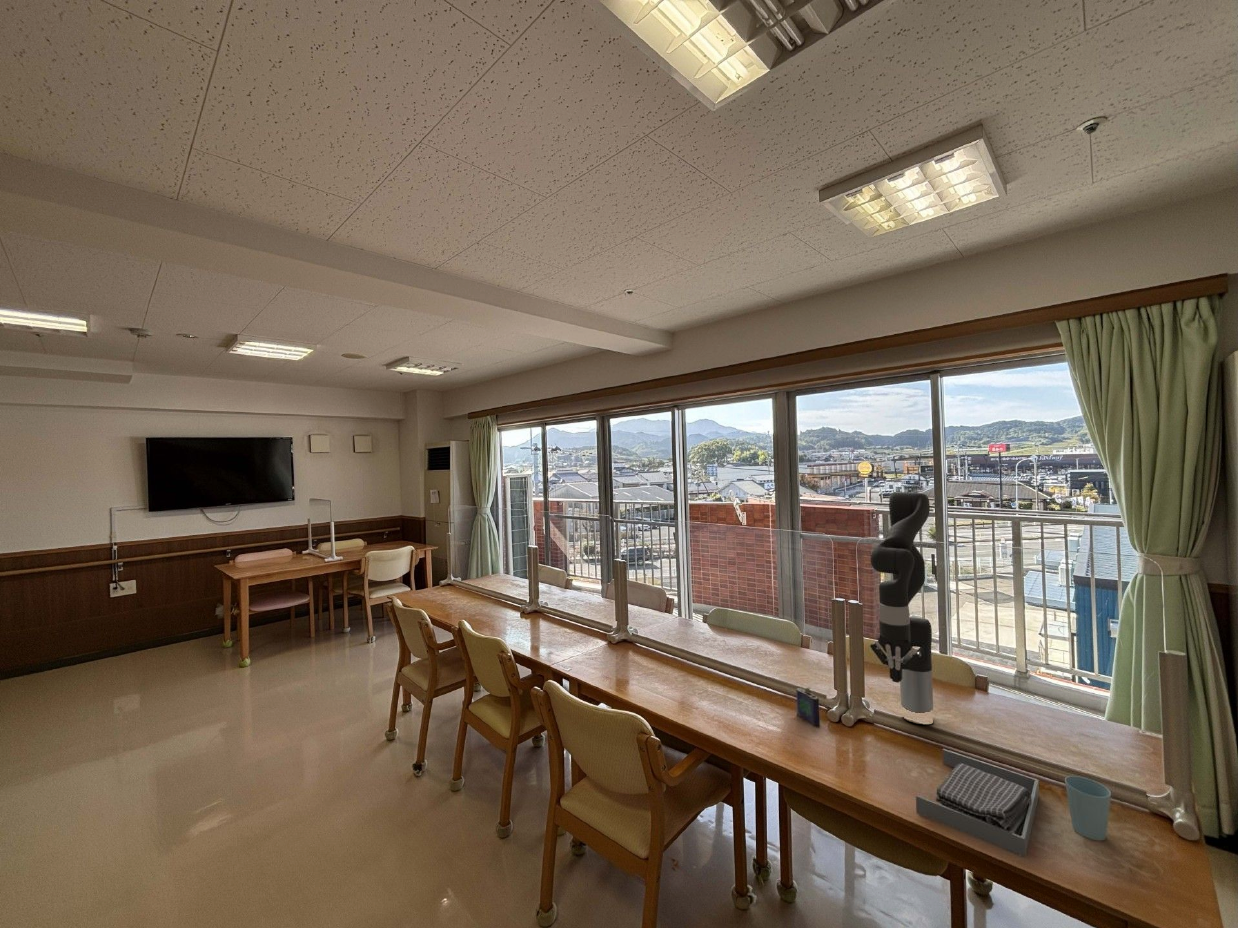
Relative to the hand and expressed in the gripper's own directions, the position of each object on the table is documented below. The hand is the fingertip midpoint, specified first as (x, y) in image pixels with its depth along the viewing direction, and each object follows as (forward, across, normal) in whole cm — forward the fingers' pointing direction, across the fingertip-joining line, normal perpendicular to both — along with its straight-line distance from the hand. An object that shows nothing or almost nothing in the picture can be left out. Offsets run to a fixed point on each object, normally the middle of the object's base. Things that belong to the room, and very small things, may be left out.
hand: (896, 681), depth 139 cm
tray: (+24, -19, +4) cm, 31 cm away
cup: (+24, -39, -1) cm, 46 cm away
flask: (+25, +29, -8) cm, 39 cm away
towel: (+24, -20, +8) cm, 33 cm away
